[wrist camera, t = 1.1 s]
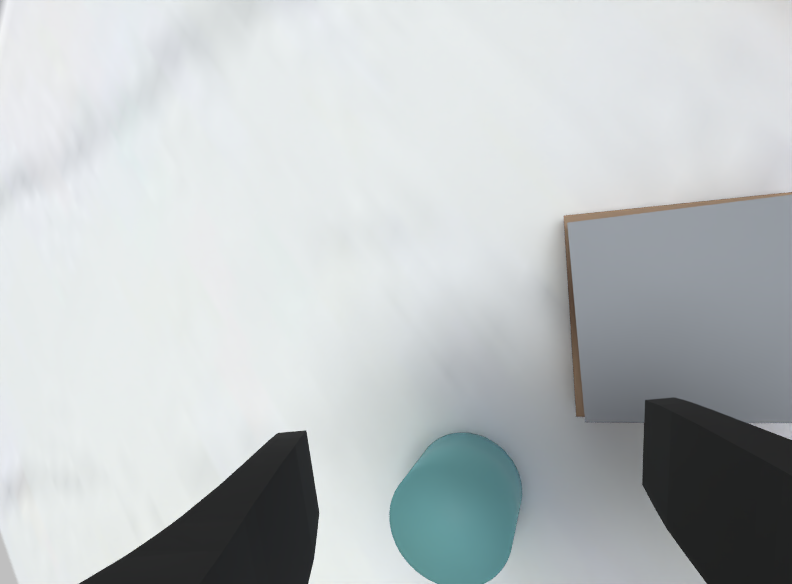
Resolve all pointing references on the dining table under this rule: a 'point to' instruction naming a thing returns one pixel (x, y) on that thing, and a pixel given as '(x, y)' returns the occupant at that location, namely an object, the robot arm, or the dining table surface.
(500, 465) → the teal cylinder
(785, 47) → the dining table surface
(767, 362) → the grey flat square block
